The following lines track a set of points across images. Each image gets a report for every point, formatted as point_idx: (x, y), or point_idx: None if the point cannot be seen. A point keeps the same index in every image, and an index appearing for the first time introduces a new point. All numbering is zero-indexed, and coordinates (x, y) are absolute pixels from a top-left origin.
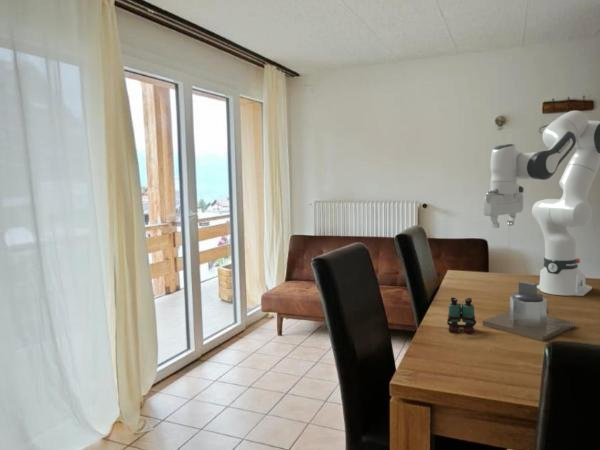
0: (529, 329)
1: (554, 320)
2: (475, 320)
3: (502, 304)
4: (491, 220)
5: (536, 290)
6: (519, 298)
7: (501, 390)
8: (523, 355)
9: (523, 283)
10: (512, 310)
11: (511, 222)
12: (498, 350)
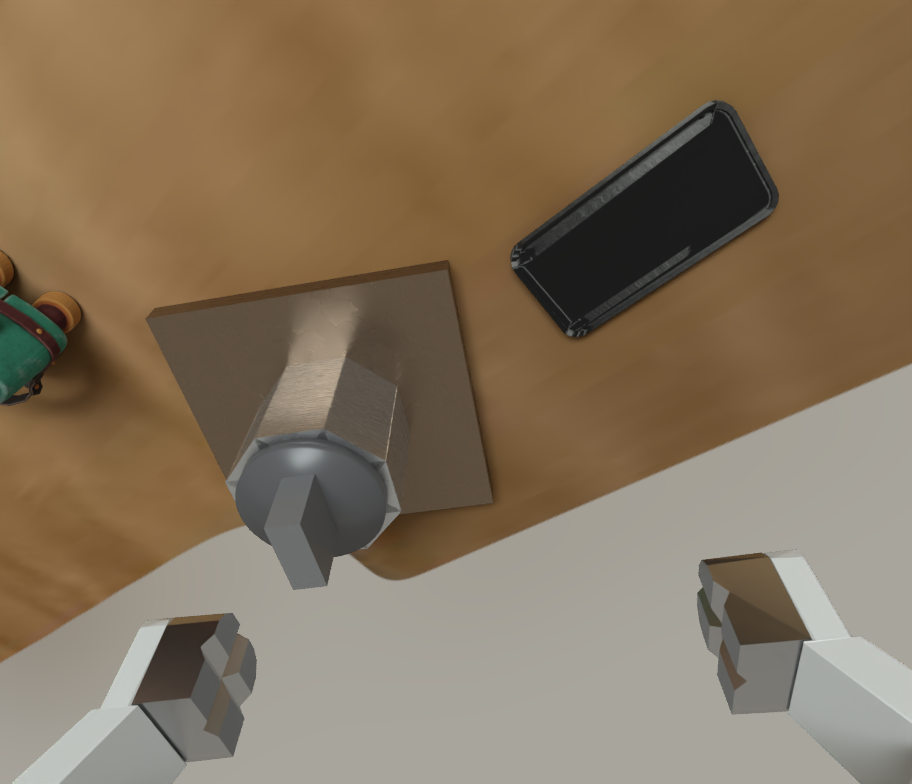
0: None
1: (446, 459)
2: (32, 393)
3: (536, 83)
4: (20, 779)
5: (330, 556)
6: (240, 508)
7: None
8: (113, 554)
9: (274, 547)
10: (252, 428)
11: (718, 676)
12: (57, 505)
